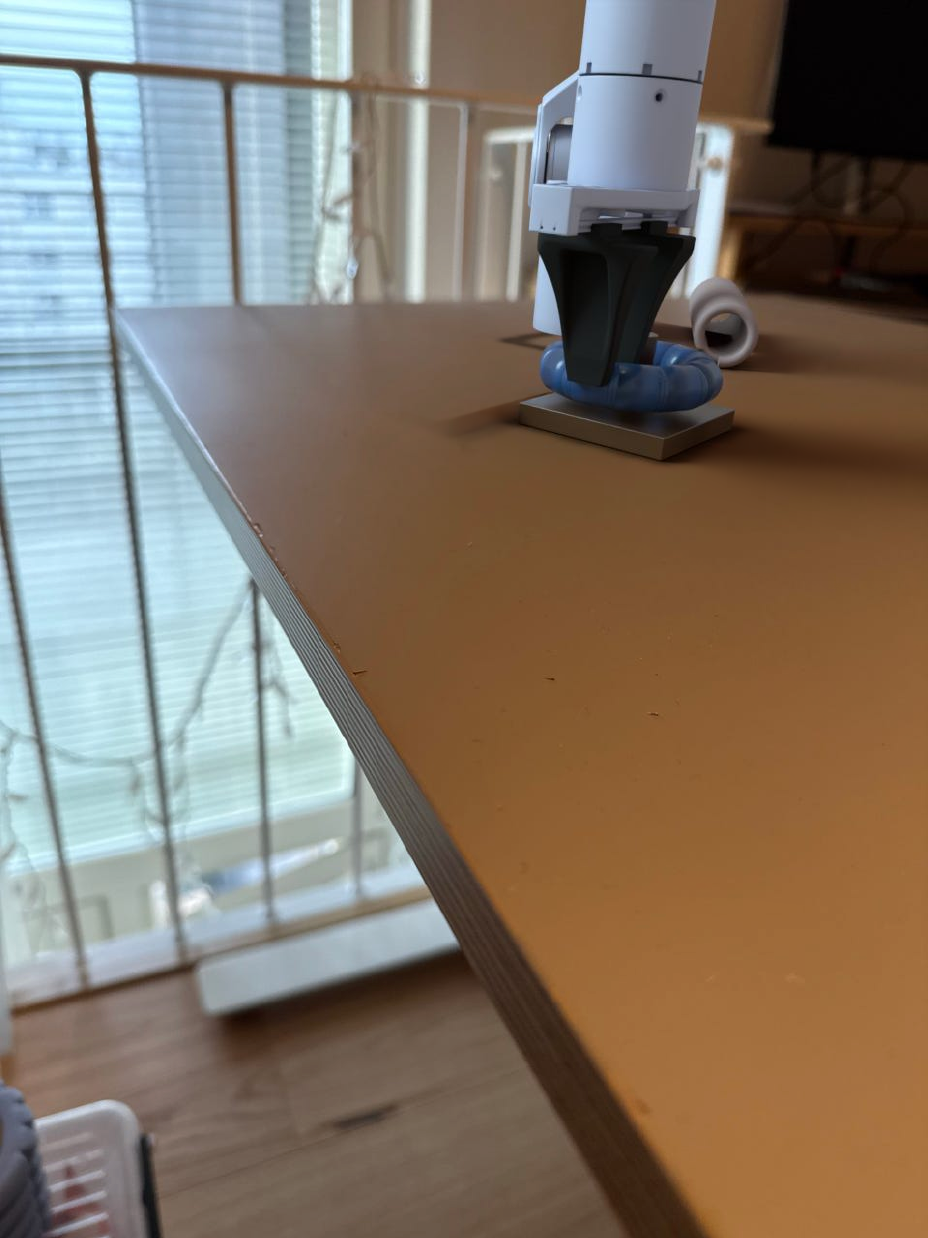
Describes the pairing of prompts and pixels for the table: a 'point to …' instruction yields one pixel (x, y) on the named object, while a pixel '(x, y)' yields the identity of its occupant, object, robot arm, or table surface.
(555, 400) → the peg stand
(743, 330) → the coil
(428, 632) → the table surface
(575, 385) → the blue segmented ring
